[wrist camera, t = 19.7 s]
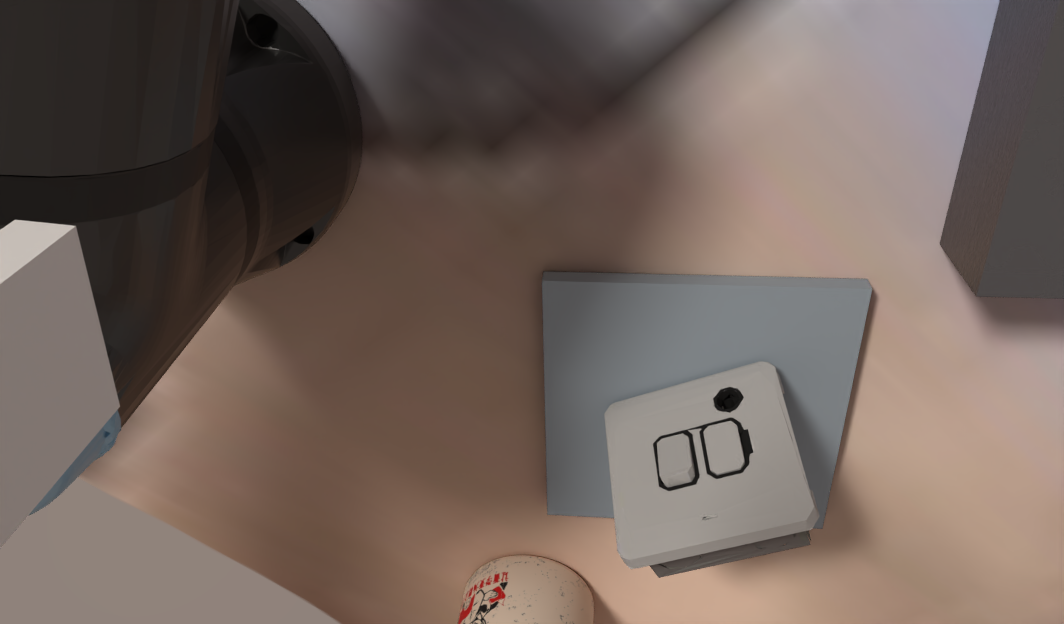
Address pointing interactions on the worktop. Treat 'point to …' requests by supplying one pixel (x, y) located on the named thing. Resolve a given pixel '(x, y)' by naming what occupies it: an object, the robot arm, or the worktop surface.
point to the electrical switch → (707, 473)
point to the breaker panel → (1014, 161)
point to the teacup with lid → (526, 593)
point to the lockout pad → (690, 361)
